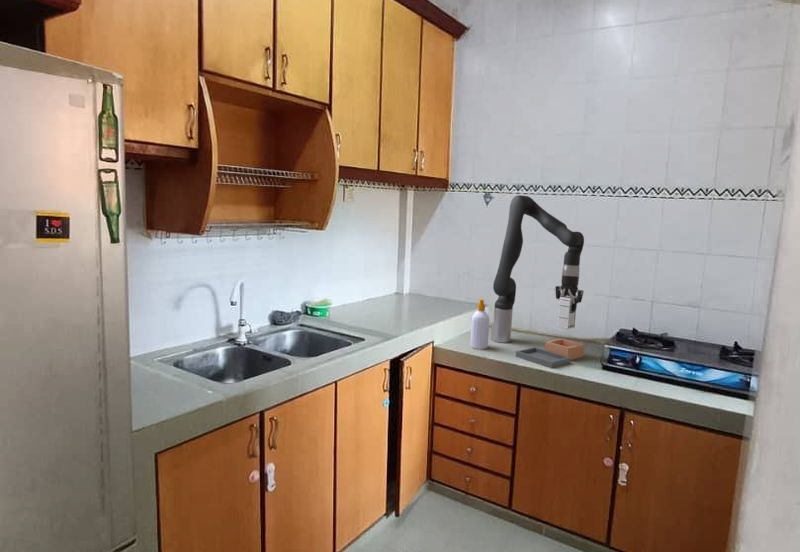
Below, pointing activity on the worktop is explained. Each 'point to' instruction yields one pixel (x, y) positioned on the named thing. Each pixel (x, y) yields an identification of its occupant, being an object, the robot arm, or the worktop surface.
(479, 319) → the soap bottle
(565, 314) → the syrup box
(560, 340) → the terracotta open box
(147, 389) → the worktop surface
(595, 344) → the worktop surface
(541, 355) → the charcoal tray
